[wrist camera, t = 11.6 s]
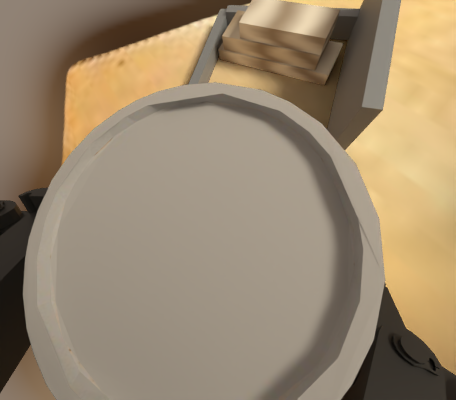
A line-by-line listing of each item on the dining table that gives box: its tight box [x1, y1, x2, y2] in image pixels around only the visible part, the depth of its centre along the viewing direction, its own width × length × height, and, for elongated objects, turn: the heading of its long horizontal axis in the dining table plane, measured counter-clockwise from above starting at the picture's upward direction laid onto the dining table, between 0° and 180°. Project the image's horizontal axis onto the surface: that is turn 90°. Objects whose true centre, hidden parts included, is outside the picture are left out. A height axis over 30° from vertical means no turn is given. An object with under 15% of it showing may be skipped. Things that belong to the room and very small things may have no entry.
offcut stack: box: [218, 0, 344, 85], centre depth 27 cm, size 18×6×6 cm, turn 63°
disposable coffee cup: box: [23, 83, 385, 400], centre depth 10 cm, size 10×10×12 cm
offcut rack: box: [188, 0, 401, 150], centre depth 23 cm, size 23×23×10 cm
